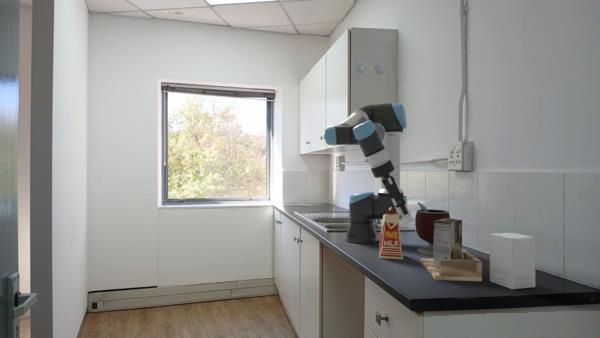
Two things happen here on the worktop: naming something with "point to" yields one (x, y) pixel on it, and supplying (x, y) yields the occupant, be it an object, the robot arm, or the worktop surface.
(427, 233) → the mate gourd
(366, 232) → the robot arm
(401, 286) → the worktop surface
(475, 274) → the beige wooden tray
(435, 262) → the coffee box
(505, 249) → the supplement box
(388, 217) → the milk carton
